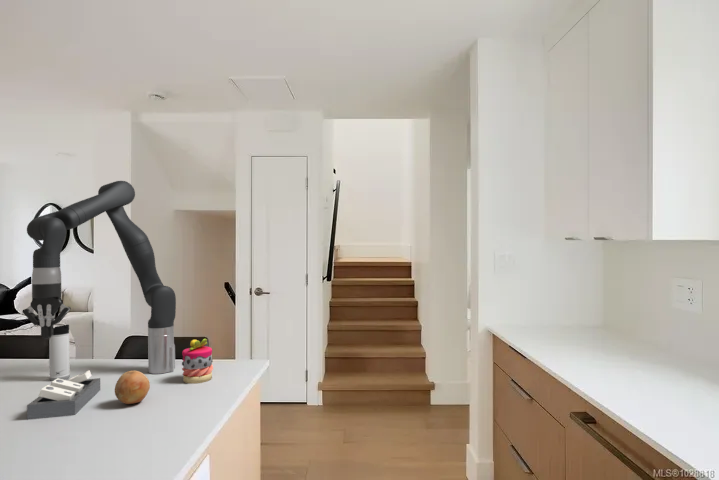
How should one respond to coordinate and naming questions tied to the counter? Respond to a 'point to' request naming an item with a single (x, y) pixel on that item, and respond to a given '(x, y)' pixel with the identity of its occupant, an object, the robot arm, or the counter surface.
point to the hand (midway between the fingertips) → (47, 338)
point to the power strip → (63, 402)
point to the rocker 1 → (56, 393)
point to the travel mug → (59, 353)
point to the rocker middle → (67, 385)
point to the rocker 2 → (80, 377)
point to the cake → (197, 362)
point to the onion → (132, 387)
